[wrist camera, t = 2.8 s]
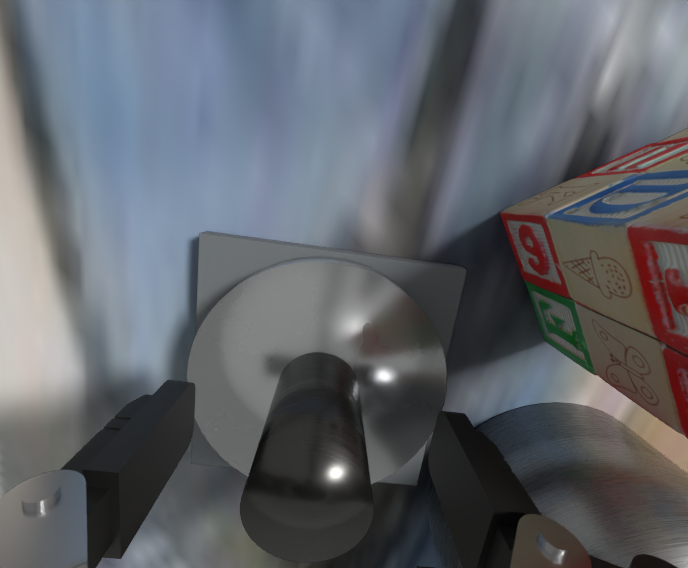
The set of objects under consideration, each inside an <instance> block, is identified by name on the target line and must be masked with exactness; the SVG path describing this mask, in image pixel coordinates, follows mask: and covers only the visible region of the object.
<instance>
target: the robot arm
mask: <svg viewBox="0 0 688 568" xmlns="http://www.w3.org/2000/svg"><path fill="white" fill-rule="evenodd" d="M194 415H195V384H194V383H192V382H183V381H174V380H167V381H166V382H165V383H164V384H163V385H162V386H161V387H160V388H159V389H158V390H157V391H156V392H155V393H154V395H144V396H142V397H140V398H138V399H136V400H134V401H133V402H131V403H129V404H127V405H126V406H125V407H124V408H123V409H122V410H121V411H120V412H119V413H118V414H117V415H116V416H115V418H114V419H112V420H111V421H110V422H109V423H108V424H107V425H106V426H105V427H104V429H103V430H101V431H100V432H98V433H97V434H96V435H95V436H94V437H93V438H92V439H91V440H90V441H89V442H88V443H87V444H86V445H85V446H84V447H83V448H82V449H81V450H80V451H79V452H78V453H77V454H76V455H75V456H74V457H73V458H72V459H71V460H70V461H69V462H68V463H67V464H66V465H65V466H64V467H63V468H62V469H61V470H55V471H50V472H46V473H43V474H40V475H37V476H34V477H32V478H30V479H28V480H26V481H24V482H22V483H20V484H18V485H17V486H15V487H14V488H12V489H11V490H10V491H8V492H7V493H6V494H5V495H4V496H3V497H2V498H1V499H0V568H96V566H97V565H98V563H99V562H100V560H101V559H102V557H104V558H116V559H121V558H122V556H123V554H124V553H125V551H126V549H127V548H128V546H129V544H130V543H131V541H132V540H133V538H134V536H135V535H136V533H137V531H138V530H139V528H140V526H141V525H142V523H143V521H144V520H145V518H146V516H147V515H148V513H149V511H150V510H151V508H152V506H153V505H154V503H155V501H156V500H157V498H158V496H159V495H160V493H161V491H162V490H163V488H164V486H165V485H166V483H167V481H168V480H169V478H170V476H171V475H172V473H173V471H174V470H175V468H176V466H177V465H178V463H179V461H180V460H181V458H182V456H183V455H184V453H185V451H186V450H187V448H188V446H189V444H190V441H191V438H192V435H193V430H194ZM428 464H429V471H430V475H431V477H432V480H433V483H434V486H435V489H436V492H437V495H438V498H439V501H440V504H441V506H442V509H443V512H444V515H445V518H446V521H447V524H448V527H449V530H450V532H451V535H452V538H453V541H454V544H455V547H456V550H457V553H458V556H459V558H460V561H461V564H462V567H463V568H622V567H620V566H617V565H614V564H612V563H609V562H606V561H604V560H601V559H599V558H596V557H593V556H591V555H588V553H587V551H586V549H585V548H584V547H583V545H582V544H581V543H580V541H579V540H578V539H577V538H576V537H575V536H574V535H573V534H572V533H571V532H570V531H568V530H567V529H566V528H565V527H563V526H562V525H560V524H559V523H557V522H555V521H554V520H552V519H550V518H547V517H545V516H542V515H541V513H540V512H539V510H538V509H537V507H536V506H535V504H534V503H533V501H532V499H531V498H530V496H529V495H528V493H527V492H526V490H525V489H524V487H523V486H522V484H521V483H520V481H519V480H518V478H517V477H516V475H515V474H514V473H512V469H511V467H510V466H509V464H508V463H507V461H505V460H504V457H503V455H502V454H501V452H500V451H499V449H498V448H497V446H496V445H495V444H494V443H493V442H492V441H491V440H490V439H489V438H488V437H487V436H485V435H484V434H483V433H482V432H478V431H476V430H475V429H474V427H473V426H472V424H471V422H470V421H469V419H468V417H467V416H466V415H465V414H464V413H455V412H446V411H440V412H439V414H438V416H437V420H436V424H435V428H434V432H433V436H432V441H431V445H430V449H429V455H428ZM629 568H678V567H676V566H674V565H673V564H671V563H669V562H667V561H665V560H663V559H660V558H658V557H655V556H652V555H647V554H639V555H636V556H634V558H633V559H632V561H631V564H630V566H629Z"/></svg>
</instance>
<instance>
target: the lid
mask: <svg viewBox="0 0 688 568" xmlns="http://www.w3.org/2000/svg"><path fill="white" fill-rule="evenodd" d="M187 382H192V383H194V384H195V415H194V417H195V420H196V422H197V424H198V426H199V427H200V429H201V431H202V433H203V435H204V436H205V438H206V439H207V440H208V442H209V443H210V445H211V446H212V447H213V448H214V449H215V451H216V452H217V453H218V454H219V455H220V456H221V457H222V458H223V459H224V460H225V461H227V462H228V463H229V464H230V465H231V466H232V467H234V468H235V469H237V470H238V471H240V472H241V473H243V474H244V475H246V476H248V479H247V482H246V485H245V488H244V491H243V494H242V497H241V503H240V515H241V520H242V523H243V526H244V528H245V530H246V532H247V534H248V535H249V536H250V538H251V539H252V540H253V541H254V542H255V543H256V544H257V545H258V546H259V547H260V548H262V549H263V550H265V551H266V552H268V553H270V554H272V555H274V556H276V557H279V558H281V559H284V560H289V561H294V562H305V563H310V562H320V561H325V560H329V559H332V558H335V557H337V556H340V555H342V554H344V553H346V552H347V551H349V550H350V549H352V548H353V547H354V546H356V545H357V544H358V543H359V542H360V541H361V540H362V538H363V537H364V536H365V534H366V533H367V531H368V529H369V527H370V525H371V522H372V519H373V512H374V507H373V497H372V489H371V484H373V483H375V482H378V481H380V480H382V479H383V478H385V477H387V476H389V475H391V474H392V473H394V472H395V471H397V470H398V469H399V468H401V467H402V466H404V465H405V464H406V463H407V462H408V461H409V460H410V459H411V458H412V457H414V456H415V455H416V454H417V452H418V451H419V450H420V449H421V448H422V447H423V445H424V444H425V443H426V441H427V440H428V438H429V437H430V435H431V434H432V432H433V430H434V428H435V424H436V420H437V416H438V414H439V412H440V411H442V408H443V405H444V401H445V395H446V389H447V370H446V362H445V356H444V353H443V349H442V346H441V343H440V340H439V338H438V336H437V333H436V331H435V329H434V327H433V326H432V324H431V322H430V321H429V319H428V318H427V316H426V315H425V313H424V312H423V311H422V309H421V308H420V307H419V306H418V304H417V303H416V302H415V301H414V300H413V299H412V297H411V296H410V295H409V294H408V293H407V292H406V291H405V290H404V289H403V288H402V287H401V286H400V285H398V284H397V283H396V282H395V281H393V280H392V279H390V278H389V277H387V276H386V275H384V274H383V273H381V272H379V271H377V270H375V269H373V268H371V267H369V266H367V265H364V264H361V263H358V262H355V261H352V260H347V259H342V258H337V257H325V256H311V257H299V258H294V259H289V260H284V261H281V262H278V263H275V264H272V265H269V266H267V267H265V268H263V269H261V270H259V271H257V272H255V273H253V274H252V275H250V276H249V277H247V278H246V279H244V280H243V281H241V282H240V283H239V284H238V285H237V286H236V287H234V288H233V289H232V290H231V291H230V292H229V293H228V294H226V295H225V296H224V297H223V298H222V299H221V300H220V301H219V302H218V303H217V304H216V305H215V306H214V308H213V309H212V310H211V311H210V312H209V314H208V315H207V316H206V318H205V320H204V321H203V323H202V324H201V326H200V328H199V330H198V332H197V334H196V337H195V339H194V341H193V344H192V347H191V351H190V355H189V359H188V368H187Z"/></svg>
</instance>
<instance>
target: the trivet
mask: <svg viewBox="0 0 688 568" xmlns="http://www.w3.org/2000/svg"><path fill="white" fill-rule="evenodd" d="M311 256H325V257H337V258H342V259H347V260H352V261H355V262H358V263H361V264H364V265H367V266H369V267H371V268H373V269H375V270H377V271H379V272H381V273H383V274H384V275H386V276H387V277H389V278H390V279H392V280H393V281H395V282H396V283H397V284H398V285H400V286H401V287H402V288H403V289H404V290H405V291H406V292H407V293H408V294H409V295H410V296H411V297H412V299H413V300H414V301H415V302H416V303H417V304H418V306H419V307H420V308H421V309H422V311H423V312H424V313H425V315H426V316H427V318H428V319H429V321H430V322H431V324H432V326H433V327H434V329H435V331H436V333H437V336H438V338H439V340H440V343H441V346H442V349H443V353H444V356H445V362H446V358H447V354H448V350H449V346H450V341H451V337H452V333H453V328H454V324H455V320H456V316H457V311H458V307H459V303H460V299H461V294H462V290H463V286H464V282H465V277H466V273H467V269H465V268H463V267H461V266H457V265H450V264H443V263H435V262H428V261H421V260H414V259H406V258H399V257H392V256H384V255H377V254H370V253H363V252H355V251H348V250H341V249H333V248H326V247H319V246H312V245H304V244H297V243H290V242H282V241H275V240H268V239H261V238H253V237H246V236H239V235H231V234H224V233H217V232H210V231H207V232H202V233H199V257H198V284H197V312H196V334H197V332H198V330H199V328H200V326H201V324H202V323H203V321H204V320H205V318H206V316H207V315H208V314H209V312H210V311H211V310H212V309H213V308H214V306H215V305H216V304H217V303H218V302H219V301H220V300H221V299H222V298H223V297H224V296H225V295H226V294H228V293H229V292H230V291H231V290H232V289H233V288H234V287H236V286H237V285H238V284H239V283H240V282H241V281H243V280H244V279H246V278H247V277H249V276H250V275H252V274H253V273H255V272H257V271H259V270H261V269H263V268H265V267H267V266H269V265H272V264H275V263H278V262H281V261H284V260H289V259H294V258H299V257H311ZM426 444H427V441H426V443H425V444H424V445H423V447H422V448H421V449H420V450H419V451H418V452H417V454H416V455H415V456H414V457H412V458H411V459H410V460H409V461H408V462H407V463H406V464H405V465H404V466H402V467H401V468H399V469H398V470H397V471H395V472H394V473H392V474H391V475H389V476H387V477H385V478H383V479H382V480H380V481H378V482H384V483H394V484H404V485H414V486H417V482H418V478H419V474H420V469H421V465H422V461H423V456H424V452H425V448H426ZM191 464H200V465H211V466H221V467H231V468H234V467H232V466H231V465H230V464H229V463H228V462H227V461H225V460H224V459H223V458H222V457H221V456H220V455H219V454H218V453H217V452H216V451H215V449H214V448H213V447H212V446H211V445H210V443H209V442H208V440H207V439H206V438H205V436H204V435H203V433H202V431H201V429H200V427H199V426H198V424H197V422H196V420H195V417H194V430H193V435H192V448H191Z"/></svg>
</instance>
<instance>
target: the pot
mask: <svg viewBox="0 0 688 568" xmlns="http://www.w3.org/2000/svg"><path fill="white" fill-rule="evenodd" d="M475 430H476V431H478V432H482V433H483V434H484V435H485V436H487V437H488V438H489V439H490V440H491V441H492V442H493V443H494V444H495V445H496V446H497V448H498V449H499V451H500V452H501V454H502V455H503V457H504V460H505V461H507V463H508V464H509V466H510V467H511V469H512V473H514V474H515V475H516V477H517V478H518V480H519V481H520V483H521V484H522V486H523V487H524V489H525V490H526V492H527V493H528V495H529V496H530V498H531V499H532V501H533V503H534V504H535V506H536V507H537V509H538V510H539V512H540V513H541V515H542V516H545V517H547V518H550V519H552V520H554V521H555V522H557V523H559V524H560V525H562V526H563V527H565V528H566V529H567V530H568V531H570V532H571V533H572V534H573V535H574V536H575V537H576V538H577V539H578V540H579V541H580V543H581V544H582V545H583V547H584V548H585V549H586V551H587V553H588V555H591V556H593V557H596V558H599V559H601V560H604V561H606V562H609V563H612V564H614V565H617V566H620V567H622V568H629V566H630V564H631V561H632V559H633V558H634V556H636V555H639V554H647V555H652V556H655V557H658V558H660V559H663V560H665V561H667V562H669V563H671V564H673V565H674V566H676V567H678V568H688V473H686V472H685V471H684V470H683V469H681V468H680V467H679V466H677V465H676V464H675V463H674V462H672V461H671V460H670V459H668V458H667V457H666V456H665V455H663V454H662V453H661V452H659V451H658V450H657V449H656V448H654V447H653V446H652V445H650V444H649V443H648V442H646V441H645V440H644V439H643V438H641V437H640V436H639V435H637V434H636V433H635V432H634V431H632V430H631V429H630V428H628V427H627V426H626V425H625V424H623V423H622V422H620V421H619V420H617V419H616V418H614V417H613V416H611V415H609V414H607V413H605V412H603V411H601V410H597V409H594V408H591V407H588V406H583V405H578V404H572V403H543V404H536V405H530V406H525V407H521V408H518V409H515V410H511V411H508V412H506V413H503V414H501V415H499V416H496V417H494V418H492V419H490V420H489V421H487V422H485V423H483V424H481V425H480V426H478V427H477V428H475ZM427 518H428V524H429V529H430V532H431V536H432V539H433V543H434V546H435V550H436V553H437V557H438V560H439V564H440V567H441V568H463V567H462V564H461V561H460V558H459V556H458V553H457V550H456V547H455V544H454V541H453V538H452V535H451V532H450V530H449V527H448V524H447V521H446V518H445V515H444V512H443V509H442V506H441V504H440V501H439V498H438V495H437V492H436V489H435V486H434V483H433V480H432V483H431V486H430V489H429V494H428V500H427ZM417 568H433V567H421V566H417Z"/></svg>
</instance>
